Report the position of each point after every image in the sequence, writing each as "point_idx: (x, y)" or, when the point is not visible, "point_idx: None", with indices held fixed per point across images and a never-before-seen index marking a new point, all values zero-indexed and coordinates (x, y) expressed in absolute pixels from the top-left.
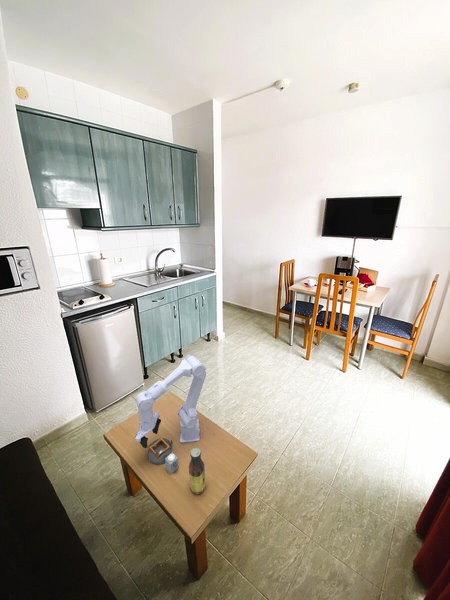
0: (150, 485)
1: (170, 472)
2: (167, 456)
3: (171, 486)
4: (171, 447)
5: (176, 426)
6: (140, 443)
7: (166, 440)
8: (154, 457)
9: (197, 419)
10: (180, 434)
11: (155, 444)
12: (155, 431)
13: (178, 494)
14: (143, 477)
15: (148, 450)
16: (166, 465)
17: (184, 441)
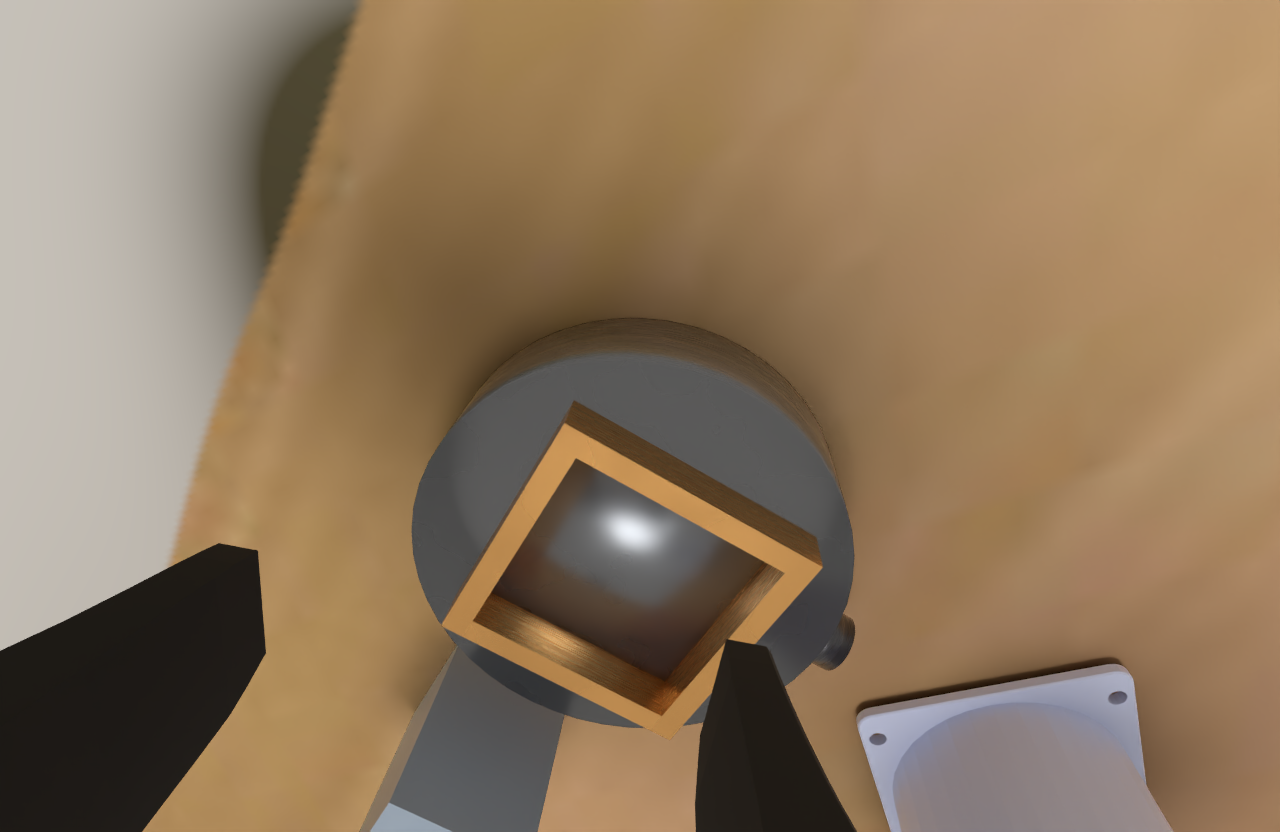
0: (196, 541)
1: (418, 707)
2: (435, 823)
3: (295, 744)
4: (691, 718)
5: (1197, 576)
6: (30, 649)
7: (812, 613)
8: (451, 542)
9: None
10: (1004, 692)
11: (661, 501)
12: (710, 791)
13: (261, 814)
14: (233, 414)
15: (543, 385)
16: (430, 700)
17: (875, 766)
